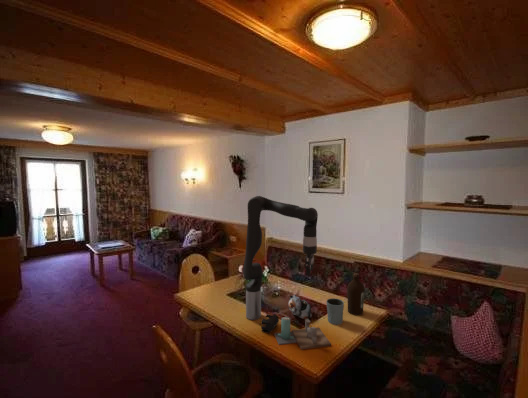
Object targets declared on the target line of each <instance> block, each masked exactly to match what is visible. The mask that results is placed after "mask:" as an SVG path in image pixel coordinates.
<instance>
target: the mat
mask: <svg viewBox="0 0 528 398" xmlns="http://www.w3.org/2000/svg"><path fill="white" fill-rule="evenodd" d="M278 334H281V332H274V333H273V335H274V337H275V340H276V341H277V344H278V345H279V346H280V345H289V344H298V343H297V340H296V338H295V336H294V335H293V333H292V330H290V336H293V337H294V339H288V340H284V339H282V338H281V337H280V336H278Z"/></svg>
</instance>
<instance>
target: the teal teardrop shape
mask: <svg viewBox="0 0 528 398" xmlns="http://www.w3.org/2000/svg"><path fill="white" fill-rule="evenodd" d="M280 321H281V322H280V323H281V327H280V329H281V330H280V333H281V334H278V336H280V337H281V338H282V339H284V340H288V339H294V337H293V336H290V331H291V317H288V316H284V317H281V320H280Z"/></svg>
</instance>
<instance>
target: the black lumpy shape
mask: <svg viewBox="0 0 528 398" xmlns="http://www.w3.org/2000/svg"><path fill="white" fill-rule="evenodd" d="M264 316H265V318H263V319H261V322H260V324H261V326H260V329H261V332H262V333H265V334H270V333H272V332H273V330H275V327H276V326H277V325H278V324H279V321H280V319H279V317H278V315H277V314H275V313H273V314H266V315H264Z"/></svg>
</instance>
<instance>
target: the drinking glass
mask: <svg viewBox="0 0 528 398" xmlns="http://www.w3.org/2000/svg"><path fill="white" fill-rule="evenodd" d="M344 306H345V302H344V301H343V300H342V299H340V298H335V297H334V298H333V297H332V298H328V299H326V311H327V312H326V313H327V322H328V323H329V324H331V325H335V326H339V325H342V324H343V322H344Z"/></svg>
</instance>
